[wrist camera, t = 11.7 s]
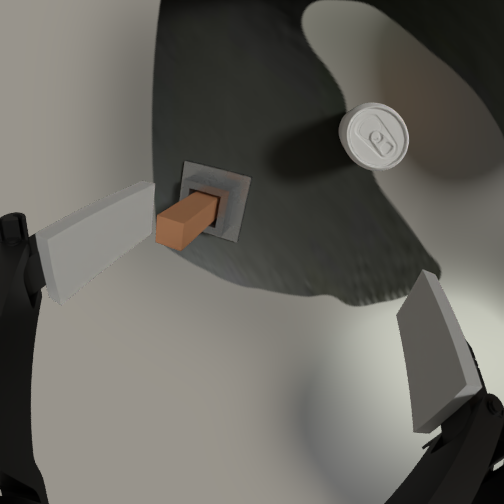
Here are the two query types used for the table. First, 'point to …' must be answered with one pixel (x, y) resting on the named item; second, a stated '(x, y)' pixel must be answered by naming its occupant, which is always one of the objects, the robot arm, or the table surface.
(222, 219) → the grey square socket
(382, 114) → the beverage can
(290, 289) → the table surface
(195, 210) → the orange square peg
